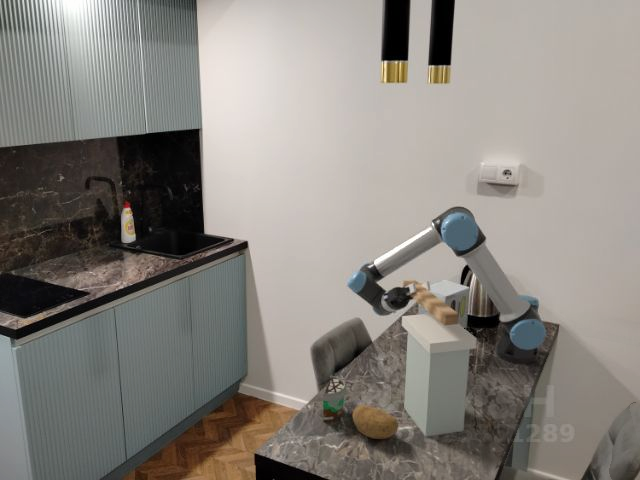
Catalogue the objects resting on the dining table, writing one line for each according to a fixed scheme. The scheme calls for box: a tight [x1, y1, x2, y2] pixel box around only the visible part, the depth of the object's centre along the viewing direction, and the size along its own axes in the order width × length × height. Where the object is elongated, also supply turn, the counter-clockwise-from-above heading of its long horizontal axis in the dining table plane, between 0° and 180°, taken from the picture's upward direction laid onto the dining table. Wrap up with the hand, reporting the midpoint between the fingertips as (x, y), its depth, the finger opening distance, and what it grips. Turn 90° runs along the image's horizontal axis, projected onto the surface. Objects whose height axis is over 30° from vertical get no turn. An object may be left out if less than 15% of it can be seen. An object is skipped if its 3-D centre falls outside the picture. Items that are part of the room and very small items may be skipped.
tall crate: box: [401, 313, 478, 438], centre depth 177 cm, size 20×14×30 cm
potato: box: [352, 404, 399, 440], centre depth 171 cm, size 10×14×8 cm
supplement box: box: [417, 279, 470, 329], centre depth 244 cm, size 17×13×18 cm
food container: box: [322, 375, 348, 423], centre depth 182 cm, size 12×6×10 cm, turn 168°
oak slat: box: [402, 279, 459, 325], centre depth 178 cm, size 30×4×3 cm, turn 15°
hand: (421, 286), depth 183 cm, fingers closed on oak slat, 4 cm apart
